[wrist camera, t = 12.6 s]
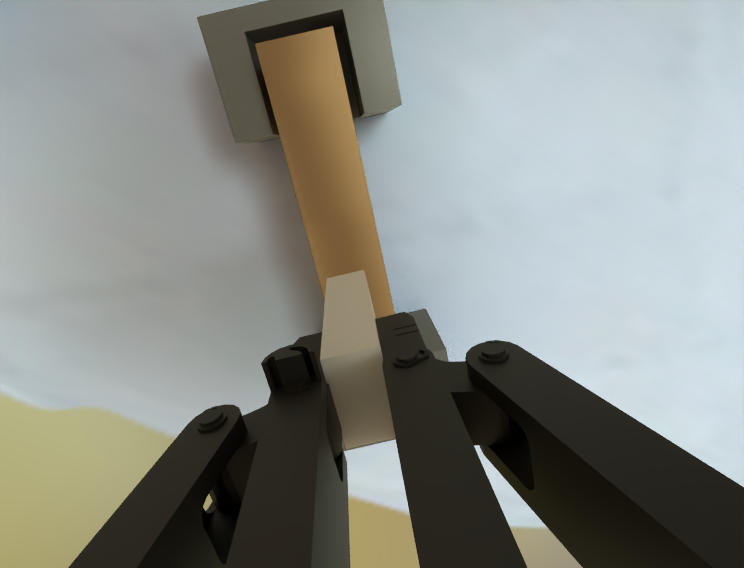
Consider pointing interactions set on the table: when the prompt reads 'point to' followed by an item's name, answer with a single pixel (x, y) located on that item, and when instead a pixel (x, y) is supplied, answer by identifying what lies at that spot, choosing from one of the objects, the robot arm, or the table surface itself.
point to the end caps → (358, 61)
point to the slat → (324, 158)
